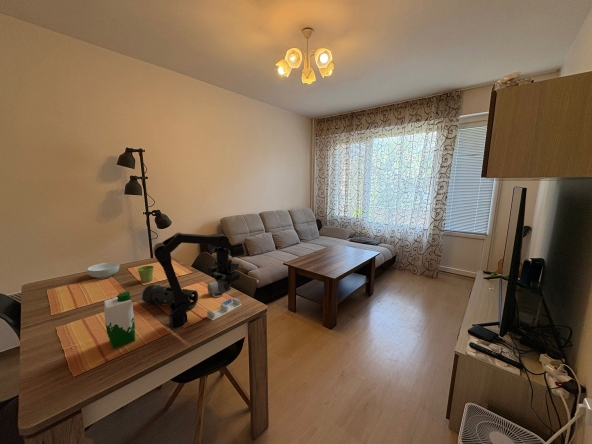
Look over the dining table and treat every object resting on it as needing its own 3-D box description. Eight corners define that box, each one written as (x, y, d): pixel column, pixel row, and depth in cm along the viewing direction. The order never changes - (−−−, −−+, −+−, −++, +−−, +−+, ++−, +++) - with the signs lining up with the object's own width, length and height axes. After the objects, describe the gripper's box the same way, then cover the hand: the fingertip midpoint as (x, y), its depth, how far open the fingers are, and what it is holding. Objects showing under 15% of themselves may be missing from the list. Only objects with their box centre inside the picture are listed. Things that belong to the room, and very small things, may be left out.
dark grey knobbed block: (223, 293, 113) (222, 279, 112) (218, 291, 116) (217, 277, 114) (230, 289, 117) (230, 276, 115) (225, 287, 119) (225, 274, 118)
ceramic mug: (207, 292, 137) (206, 280, 135) (221, 289, 141) (220, 277, 140) (212, 300, 128) (211, 288, 127) (226, 296, 133) (226, 284, 132)
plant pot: (139, 279, 154) (138, 266, 153) (156, 276, 158) (154, 264, 156) (136, 284, 146) (135, 271, 144) (154, 282, 150) (153, 269, 148)
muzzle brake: (187, 314, 115) (186, 295, 113) (140, 307, 121) (138, 289, 119) (199, 304, 124) (198, 286, 122) (154, 298, 130) (152, 281, 128)
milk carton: (138, 341, 96) (132, 296, 92) (110, 352, 89) (103, 304, 86) (133, 331, 102) (128, 288, 98) (107, 340, 95) (101, 295, 92)
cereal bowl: (124, 274, 160) (123, 265, 159) (94, 283, 147) (92, 272, 145) (114, 269, 169) (112, 260, 168) (84, 277, 155) (83, 267, 154)
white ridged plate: (212, 321, 109) (212, 315, 109) (204, 316, 113) (204, 310, 112) (242, 305, 124) (241, 300, 123) (233, 301, 127) (233, 296, 127)
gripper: (248, 258, 114) (249, 288, 117) (224, 251, 125) (226, 278, 128) (229, 265, 105) (231, 297, 108) (206, 257, 116) (208, 286, 119)
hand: (224, 289), depth 116 cm, fingers closed on dark grey knobbed block, 4 cm apart
